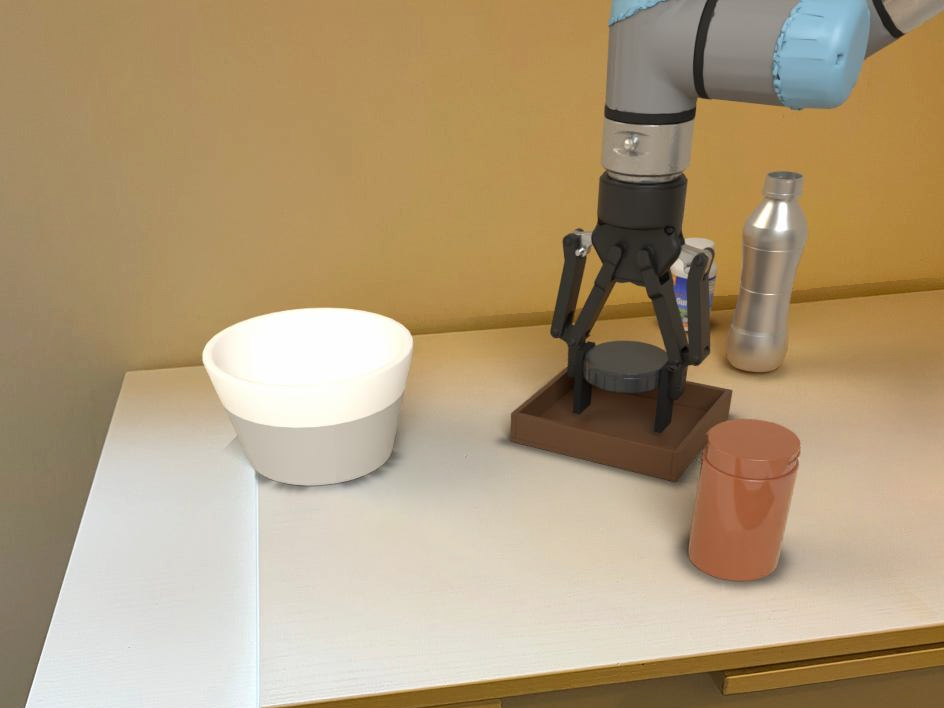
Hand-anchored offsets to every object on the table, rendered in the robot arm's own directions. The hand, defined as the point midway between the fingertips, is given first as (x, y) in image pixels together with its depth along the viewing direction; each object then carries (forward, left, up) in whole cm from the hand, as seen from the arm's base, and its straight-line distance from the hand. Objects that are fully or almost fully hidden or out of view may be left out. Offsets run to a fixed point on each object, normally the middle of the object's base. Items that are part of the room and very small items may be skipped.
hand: (621, 417), depth 99 cm
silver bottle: (-7, -21, -1) cm, 22 cm away
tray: (0, 0, -1) cm, 1 cm away
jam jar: (-17, +17, -1) cm, 24 cm away
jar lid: (0, 0, +6) cm, 6 cm away
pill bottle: (+4, -30, -1) cm, 30 cm away
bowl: (+24, +18, -1) cm, 30 cm away
